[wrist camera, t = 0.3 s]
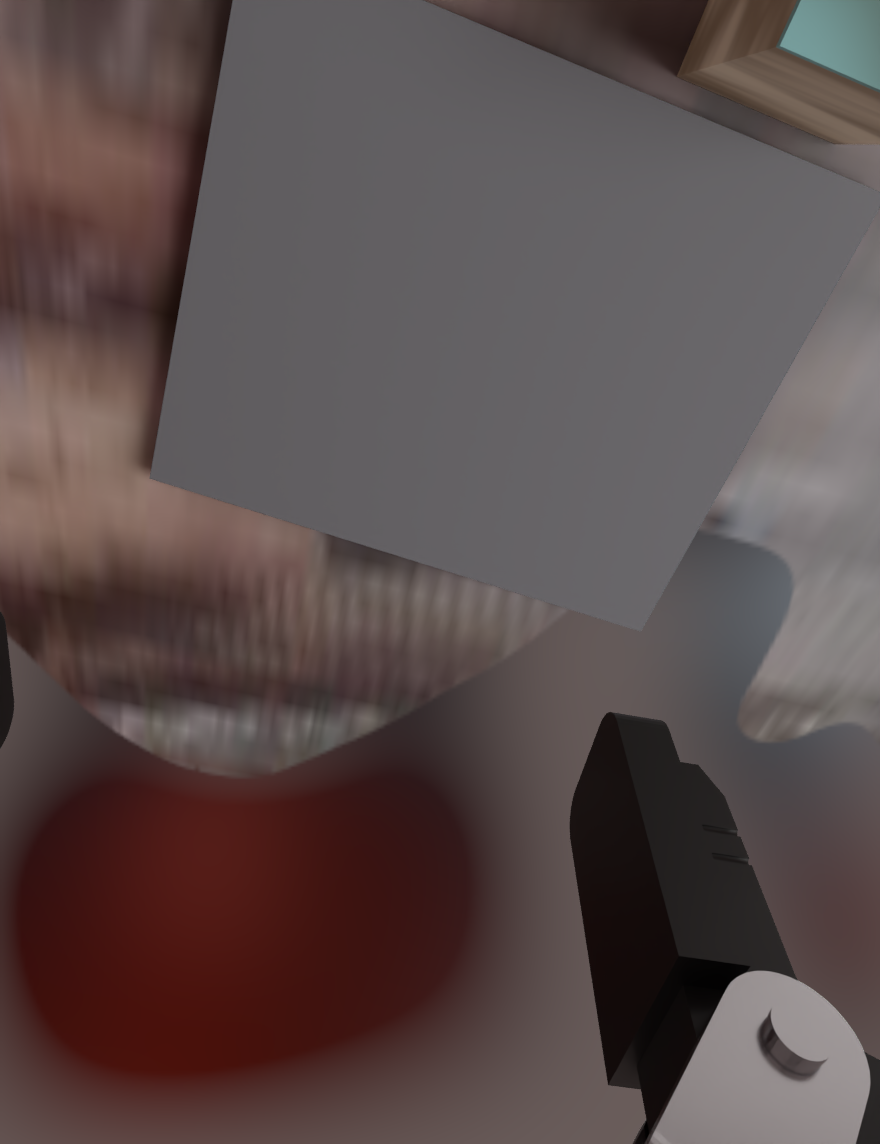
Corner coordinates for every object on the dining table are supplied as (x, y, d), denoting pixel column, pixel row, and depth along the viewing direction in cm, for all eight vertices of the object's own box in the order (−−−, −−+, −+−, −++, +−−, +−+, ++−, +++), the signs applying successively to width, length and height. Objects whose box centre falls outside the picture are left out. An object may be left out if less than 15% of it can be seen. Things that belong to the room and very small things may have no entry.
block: (728, -47, 28) (867, -145, 19) (894, 29, 29) (1109, -27, 20) (676, 76, 30) (779, 45, 20) (834, 144, 31) (1004, 145, 21)
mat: (252, -68, 28) (245, -75, 27) (875, 193, 32) (887, 194, 31) (156, 470, 38) (149, 478, 37) (636, 621, 42) (640, 631, 41)
